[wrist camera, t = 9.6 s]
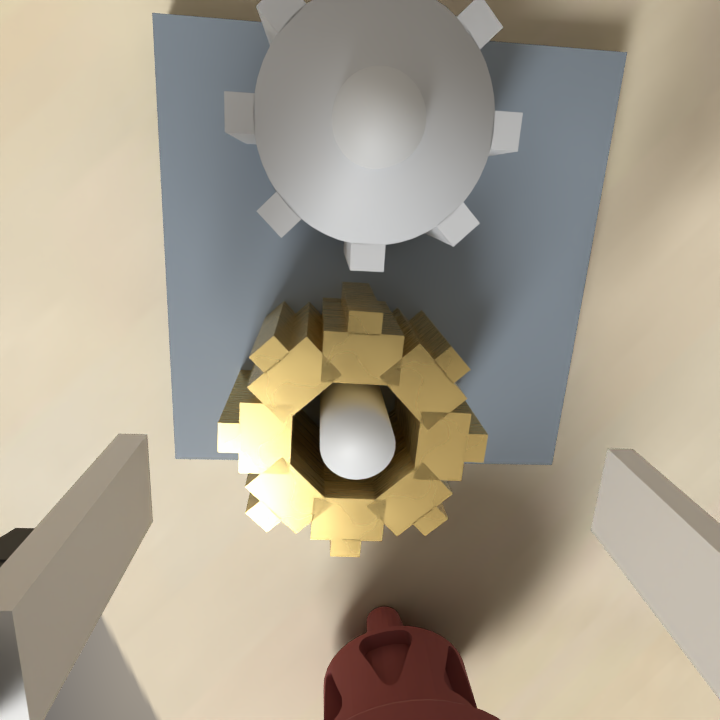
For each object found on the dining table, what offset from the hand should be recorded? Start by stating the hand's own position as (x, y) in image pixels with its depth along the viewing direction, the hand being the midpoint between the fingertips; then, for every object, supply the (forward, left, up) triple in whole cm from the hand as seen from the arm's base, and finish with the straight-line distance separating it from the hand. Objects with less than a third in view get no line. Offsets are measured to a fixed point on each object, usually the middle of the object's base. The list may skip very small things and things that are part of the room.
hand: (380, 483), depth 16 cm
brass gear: (+1, 0, -7) cm, 7 cm away
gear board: (-1, -5, -8) cm, 10 cm away
